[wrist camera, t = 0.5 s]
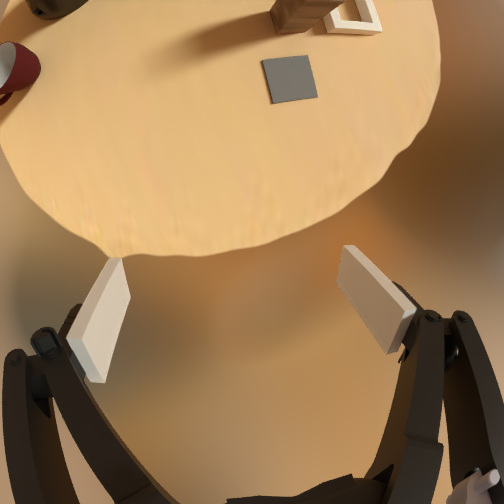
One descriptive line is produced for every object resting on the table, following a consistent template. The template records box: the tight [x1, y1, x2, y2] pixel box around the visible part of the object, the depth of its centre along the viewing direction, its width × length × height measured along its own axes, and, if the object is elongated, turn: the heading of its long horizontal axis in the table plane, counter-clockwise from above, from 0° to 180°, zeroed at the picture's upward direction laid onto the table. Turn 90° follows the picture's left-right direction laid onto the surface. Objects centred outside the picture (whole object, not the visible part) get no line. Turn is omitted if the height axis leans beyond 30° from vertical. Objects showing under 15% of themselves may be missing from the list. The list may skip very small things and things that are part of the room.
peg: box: [270, 0, 345, 34], centre depth 23 cm, size 4×4×14 cm
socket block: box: [323, 0, 383, 35], centre depth 27 cm, size 9×9×3 cm
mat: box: [262, 55, 318, 104], centre depth 33 cm, size 7×7×1 cm
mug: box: [0, 42, 41, 106], centre depth 20 cm, size 11×8×10 cm
